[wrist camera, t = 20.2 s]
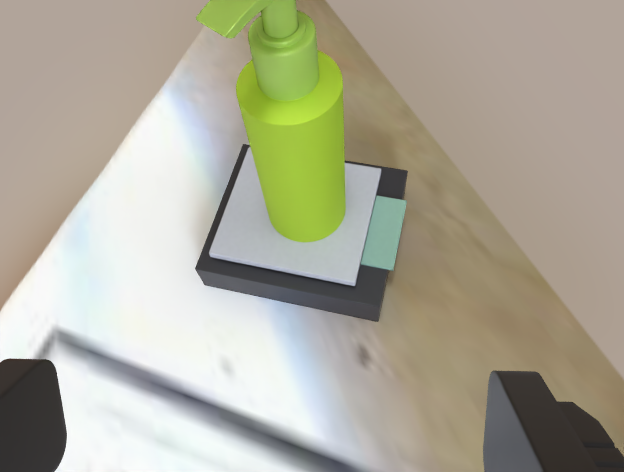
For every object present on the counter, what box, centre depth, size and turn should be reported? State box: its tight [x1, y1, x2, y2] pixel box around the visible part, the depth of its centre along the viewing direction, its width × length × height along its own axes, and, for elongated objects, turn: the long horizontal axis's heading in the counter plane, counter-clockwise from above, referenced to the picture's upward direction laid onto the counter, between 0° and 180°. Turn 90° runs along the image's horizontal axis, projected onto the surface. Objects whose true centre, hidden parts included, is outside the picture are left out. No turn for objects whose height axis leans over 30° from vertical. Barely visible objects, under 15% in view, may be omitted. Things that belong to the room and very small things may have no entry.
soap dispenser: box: [196, 0, 346, 242], centre depth 32 cm, size 6×7×20 cm
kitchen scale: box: [195, 144, 408, 322], centre depth 43 cm, size 14×12×4 cm
